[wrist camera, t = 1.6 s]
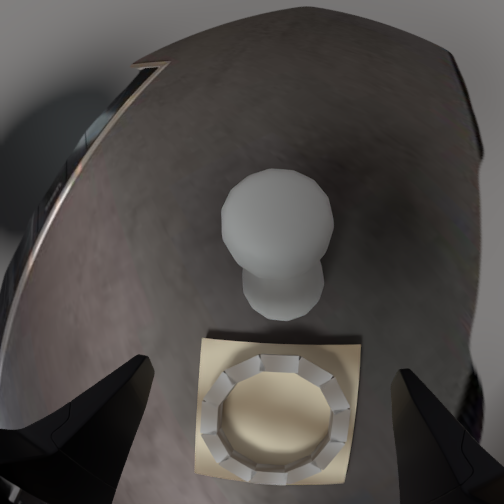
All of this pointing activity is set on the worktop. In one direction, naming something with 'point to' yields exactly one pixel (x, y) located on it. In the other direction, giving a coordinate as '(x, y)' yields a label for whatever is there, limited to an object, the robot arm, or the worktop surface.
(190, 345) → the worktop surface
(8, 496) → the robot arm
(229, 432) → the ring stand
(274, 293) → the salt shaker
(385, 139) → the worktop surface
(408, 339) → the worktop surface
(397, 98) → the worktop surface
